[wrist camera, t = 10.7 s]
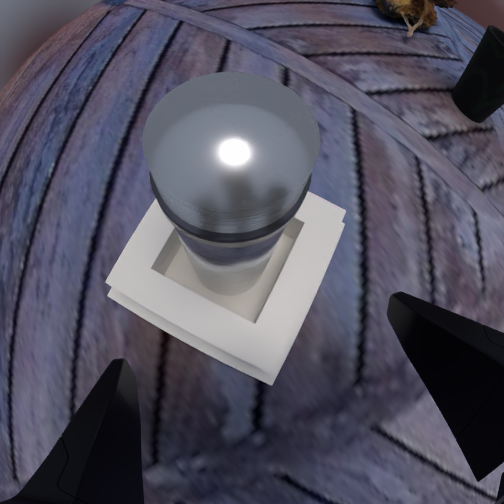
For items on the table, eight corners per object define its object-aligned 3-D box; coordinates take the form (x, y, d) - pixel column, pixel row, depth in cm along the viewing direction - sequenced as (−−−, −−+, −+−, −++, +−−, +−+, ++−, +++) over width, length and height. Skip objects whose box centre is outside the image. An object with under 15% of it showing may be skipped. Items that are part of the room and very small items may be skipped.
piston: (269, 297, 19) (340, 214, 7) (191, 299, 19) (124, 218, 7) (265, 223, 21) (310, 72, 8) (191, 225, 20) (151, 73, 8)
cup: (471, 132, 27) (527, 72, 16) (435, 85, 29) (478, 20, 17) (496, 126, 29) (544, 75, 17) (464, 83, 30) (503, 29, 19)
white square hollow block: (269, 383, 19) (279, 393, 15) (112, 297, 20) (88, 287, 16) (340, 228, 22) (361, 206, 18) (197, 160, 23) (192, 128, 19)
